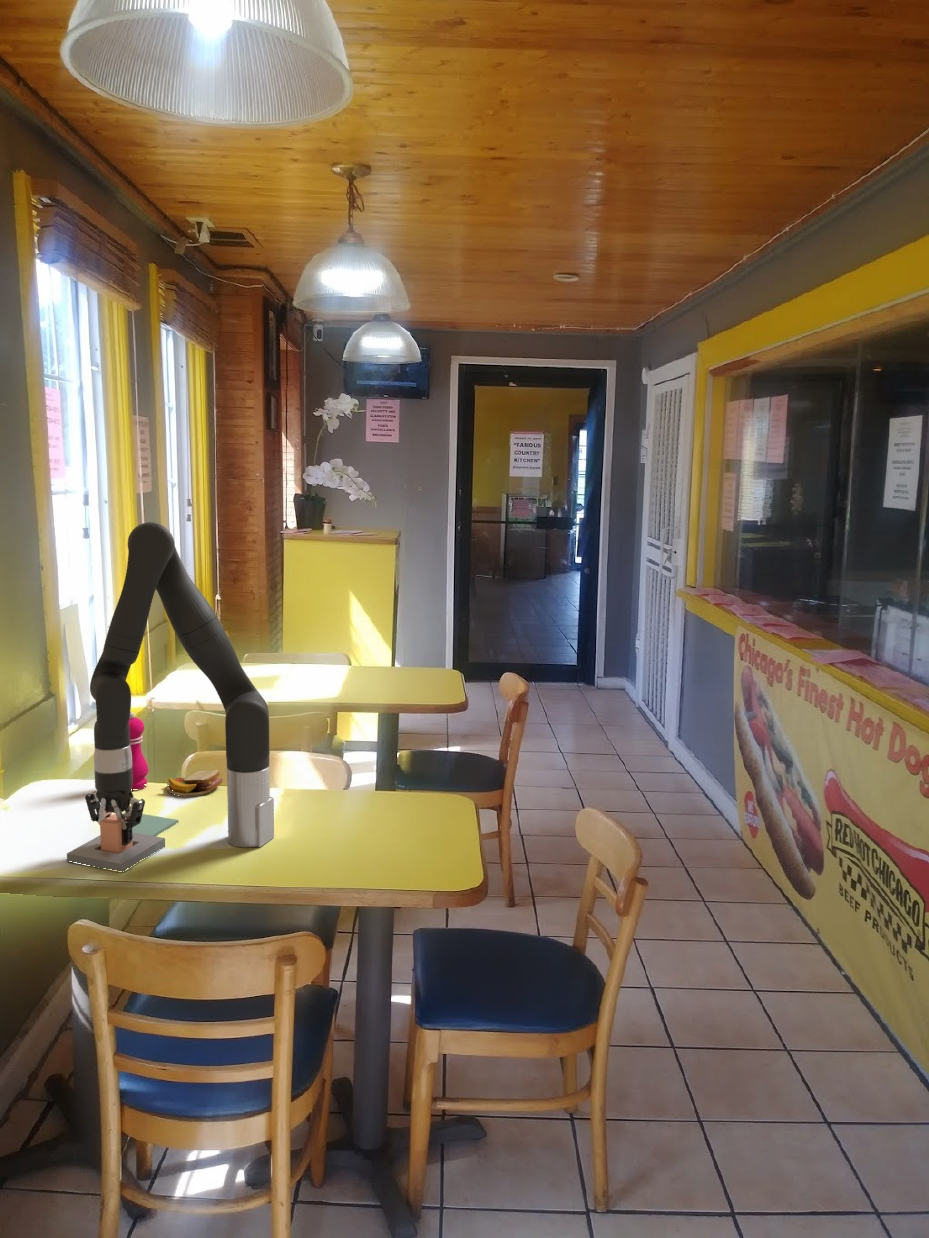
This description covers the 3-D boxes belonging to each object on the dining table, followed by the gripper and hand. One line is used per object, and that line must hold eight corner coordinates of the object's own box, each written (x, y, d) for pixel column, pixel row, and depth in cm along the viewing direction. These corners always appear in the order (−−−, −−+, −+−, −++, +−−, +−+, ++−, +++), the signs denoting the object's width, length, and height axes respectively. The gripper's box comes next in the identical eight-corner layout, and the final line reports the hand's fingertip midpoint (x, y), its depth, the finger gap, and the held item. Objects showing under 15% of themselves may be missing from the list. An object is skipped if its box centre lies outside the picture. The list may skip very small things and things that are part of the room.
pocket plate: (165, 846, 200) (165, 838, 200) (122, 873, 187) (122, 863, 187) (112, 837, 205) (111, 828, 204) (67, 862, 192) (66, 853, 191)
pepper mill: (142, 792, 232) (140, 716, 229) (114, 791, 232) (111, 715, 229) (153, 782, 239) (150, 708, 236) (125, 781, 240) (122, 707, 236)
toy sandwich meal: (187, 778, 244) (187, 761, 243) (230, 786, 239) (229, 768, 238) (156, 794, 232) (155, 776, 231) (199, 802, 227) (199, 784, 227)
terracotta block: (132, 851, 197) (131, 816, 196) (119, 860, 193) (117, 824, 192) (115, 848, 199) (114, 813, 198) (101, 857, 195) (99, 821, 193)
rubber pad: (178, 822, 214) (178, 819, 214) (148, 840, 204) (148, 837, 203) (139, 815, 217) (139, 813, 217) (107, 832, 207) (107, 830, 207)
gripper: (153, 764, 194) (155, 840, 197) (97, 756, 198) (101, 830, 201) (129, 775, 187) (133, 854, 190) (73, 767, 191) (76, 843, 194)
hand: (116, 841), depth 196 cm, fingers closed on terracotta block, 4 cm apart
